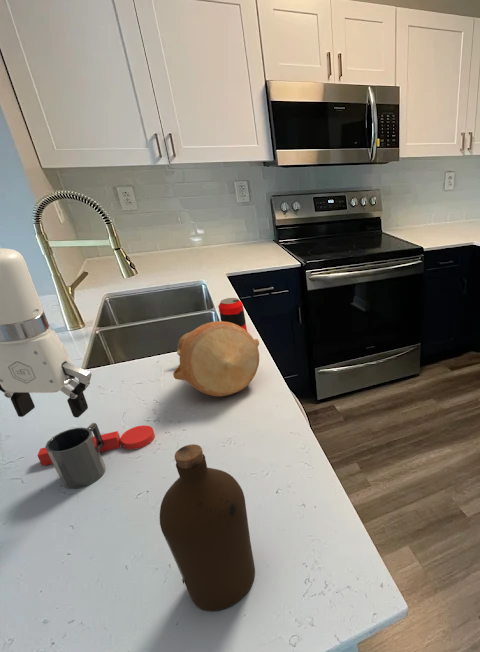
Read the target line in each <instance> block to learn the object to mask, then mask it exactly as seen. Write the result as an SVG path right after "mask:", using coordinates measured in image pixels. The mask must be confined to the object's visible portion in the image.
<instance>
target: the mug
mask: <svg viewBox="0 0 480 652" xmlns="http://www.w3.org/2000/svg"><path fill="white" fill-rule="evenodd" d="M101 435H102V434H101V432H100V429H99V426H98V424H97V423H96V422H92V423H90V424H89V425H88V427H75V428H70V429H67V430H63V431H61V432H59V433H57V434H55V435H53V436H52V437H51V438H50V439H49V440H48V441H47V442H46V444H45V445H44V448H45V447H46V450H47V452H48V454H49V456H50V458H51V460H52V462H53V464H52V465H53V466H54V469H55V472H56V473H57V474H58V477H59V479H60V481H61V483H62V485H63V486H64V488H67V489H71V490H77V489H82V488H86V487H87V486H90V485H92V484H94V483H96V482H97V481H98V480H99V479H101V478H102V477H103V476H104V474H105V472H106V469H107V468H106V464H105V462H104V459H103V456H102V455H101V452H99V450H100V449H101V448H102V447H103V446H104V442H103V439H102V437H101ZM94 436H95V439H96V441H97V444H96V442H95V439H94Z"/></svg>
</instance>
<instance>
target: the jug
mask: <svg viewBox="0 0 480 652" xmlns="http://www.w3.org/2000/svg"><path fill="white" fill-rule="evenodd" d="M177 342H178V343H177V350H176V355H178V356H179V365H178V366H177V368H176V369H174V371H173V373H172V376H173V379H175V380H178V381H179V380H180V381H185V382H187V383H188V384H189V385H190V386H191V387H193V388H194V389H196V390H197V391H199V392H201V393H203V394H206V395H207V396H213V397H226V396H231V395H233V394H236V393H238V392H240V391H242V390H244V389H245V388H246V387H247V386H248V385H249V384H250V383H251V382H252V380H253V379H254V378H255V376H256V374H257V372H258V368H259V366H260V365H259V364H260V351H259V345H260V341H259V338H254V337H253V336H252V335H251V334H250V332H249V331H248V330H247V331H246V330H245V329H243V328H242V327H240V326H238V325H236V324H234V323H230V322H224V321H221V320H218V321H210V322H206V323H204V324H201V325H200V326H198V327H196V328H195V329H193V330H192V331H189V332H187V333H185V334H183V335H182V336H181V337H180V338H179V340H178V341H177Z"/></svg>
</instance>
